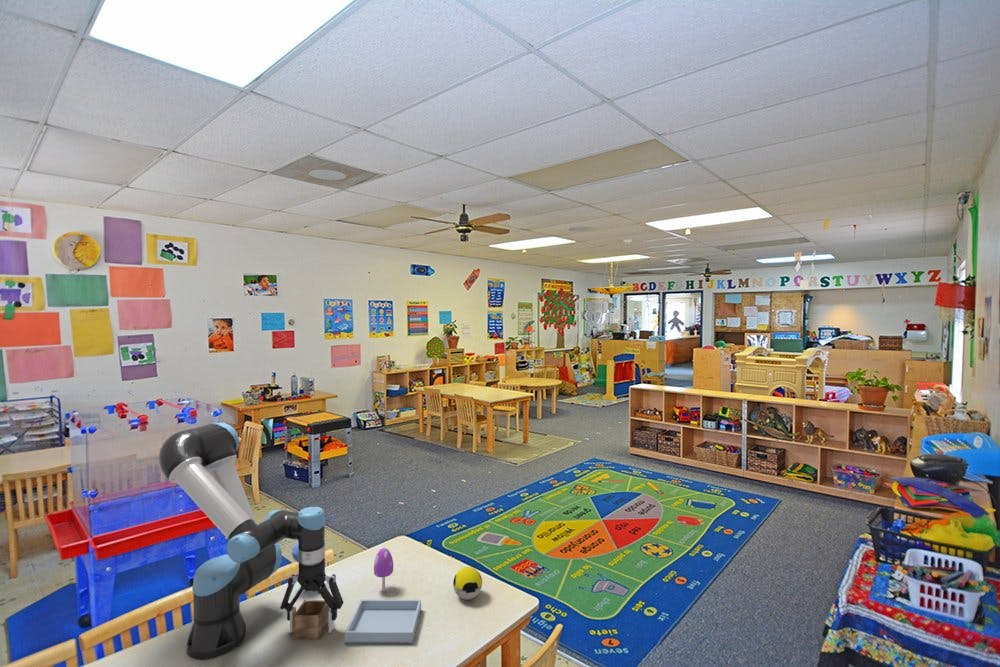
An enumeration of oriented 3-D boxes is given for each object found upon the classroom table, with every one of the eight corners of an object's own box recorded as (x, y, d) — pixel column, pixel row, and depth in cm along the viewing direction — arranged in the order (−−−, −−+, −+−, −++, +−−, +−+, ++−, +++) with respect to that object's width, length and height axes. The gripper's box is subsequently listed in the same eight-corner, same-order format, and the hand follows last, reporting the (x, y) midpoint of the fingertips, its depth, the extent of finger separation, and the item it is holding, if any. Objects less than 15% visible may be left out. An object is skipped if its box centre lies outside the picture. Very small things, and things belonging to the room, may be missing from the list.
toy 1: (388, 597, 160) (388, 554, 159) (370, 594, 161) (370, 552, 161) (396, 586, 166) (396, 545, 166) (379, 583, 168) (379, 543, 167)
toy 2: (478, 586, 166) (478, 559, 166) (485, 604, 156) (485, 575, 156) (450, 591, 164) (451, 563, 163) (456, 608, 154) (456, 579, 153)
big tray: (344, 644, 137) (344, 632, 136) (360, 609, 153) (360, 599, 152) (412, 644, 137) (412, 632, 137) (421, 610, 153) (421, 599, 153)
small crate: (293, 639, 138) (293, 616, 138) (304, 621, 146) (304, 600, 146) (320, 639, 139) (320, 616, 138) (329, 621, 147) (329, 600, 146)
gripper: (267, 566, 138) (268, 638, 139) (346, 566, 138) (346, 638, 139) (279, 553, 145) (279, 621, 146) (353, 553, 146) (354, 621, 146)
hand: (312, 629), depth 142 cm, fingers open, 11 cm apart
